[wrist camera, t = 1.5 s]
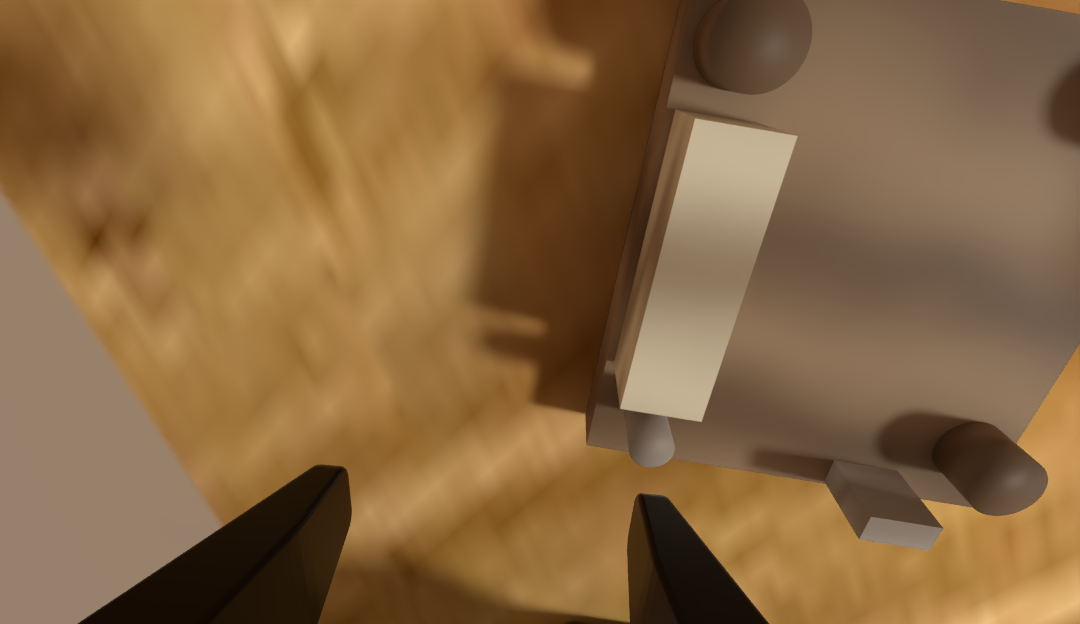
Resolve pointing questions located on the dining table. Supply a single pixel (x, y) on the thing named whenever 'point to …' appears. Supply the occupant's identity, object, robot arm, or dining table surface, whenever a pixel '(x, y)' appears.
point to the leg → (697, 260)
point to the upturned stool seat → (881, 251)
